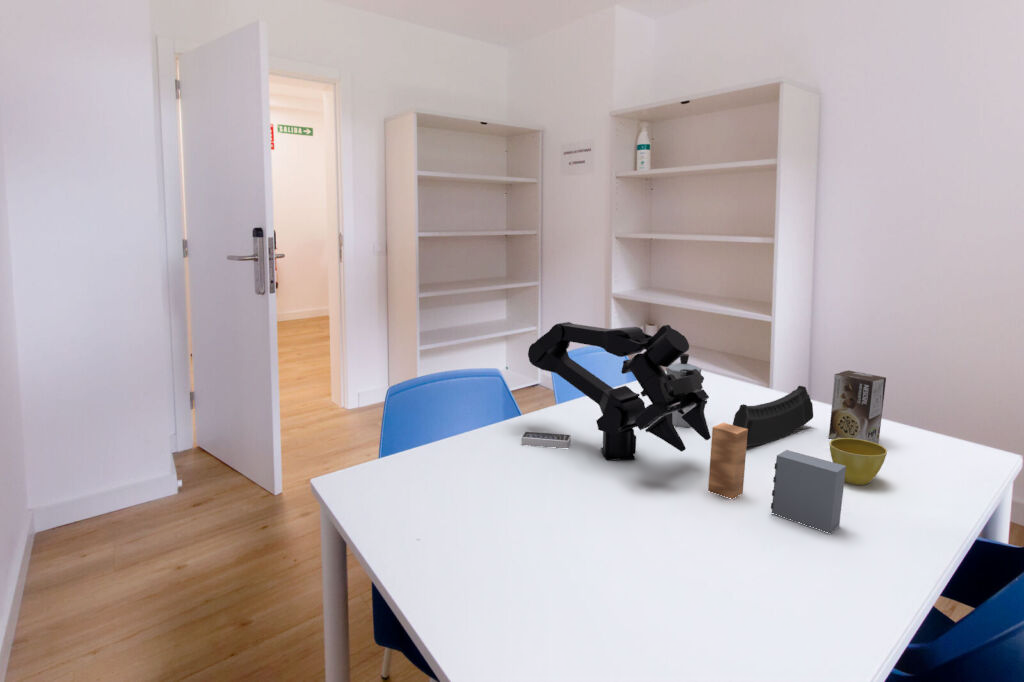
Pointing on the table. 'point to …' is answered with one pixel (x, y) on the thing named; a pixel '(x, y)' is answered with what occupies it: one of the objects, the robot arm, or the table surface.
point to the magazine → (775, 417)
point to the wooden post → (727, 460)
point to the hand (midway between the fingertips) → (696, 444)
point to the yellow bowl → (858, 458)
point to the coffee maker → (678, 372)
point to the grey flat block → (808, 490)
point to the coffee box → (857, 406)
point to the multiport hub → (546, 439)
